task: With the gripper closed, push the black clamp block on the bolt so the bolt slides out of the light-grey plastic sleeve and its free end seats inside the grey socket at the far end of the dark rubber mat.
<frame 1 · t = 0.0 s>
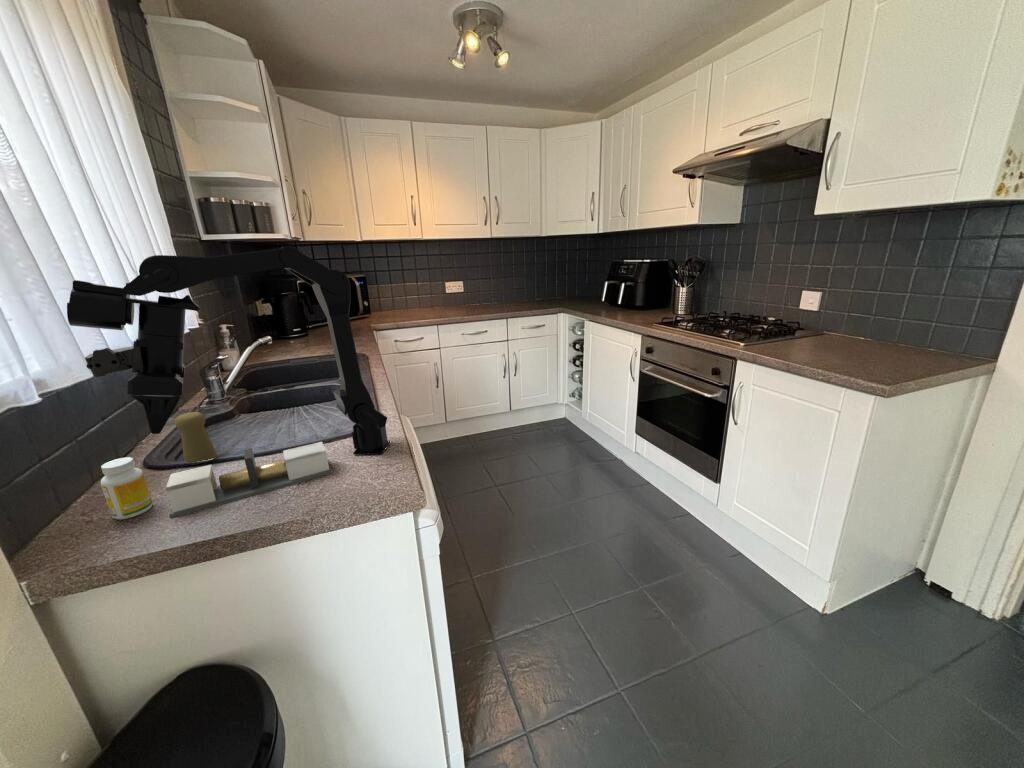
hand: (157, 425, 68), 15 cm above the countertop, tool pointing down, fingers open, 9 cm apart
supplement bottle: (134, 512, 71), on the countertop
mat: (323, 468, 84), on the countertop
sleeve: (306, 460, 82), on the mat, point 3 cm above the countertop
cork: (201, 460, 91), on the countertop
bolt: (271, 463, 78), point 4 cm above the countertop, slide at 0.0 cm
socket: (193, 487, 72), on the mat, point 3 cm above the countertop
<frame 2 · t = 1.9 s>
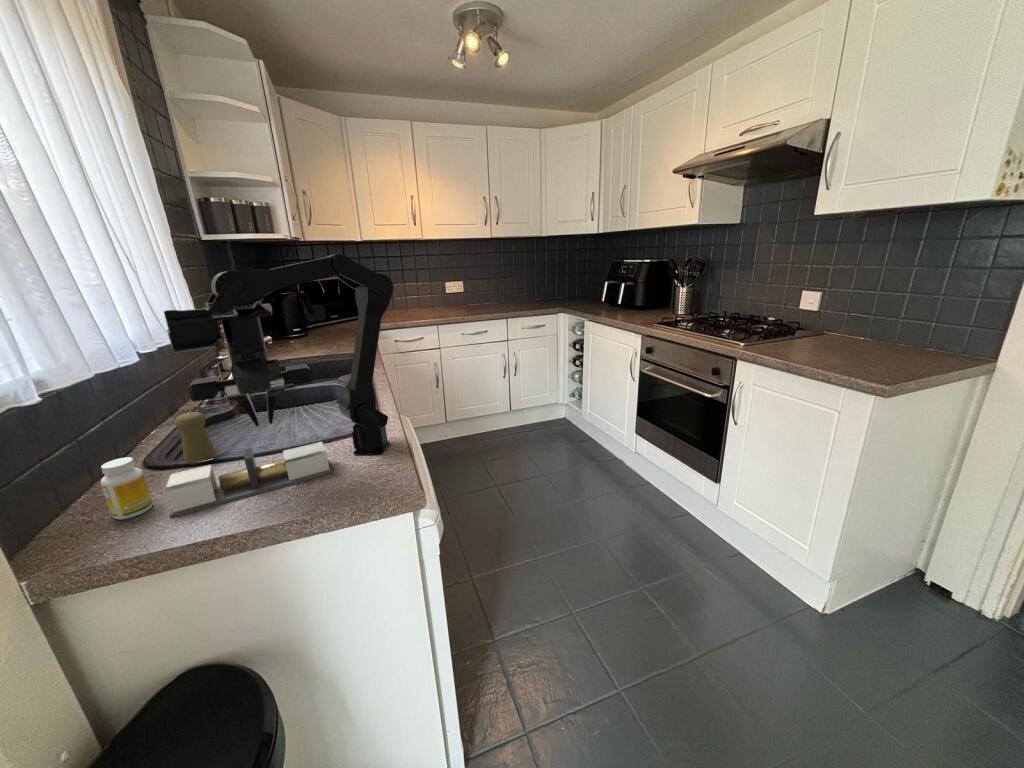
hand: (264, 424, 76), 12 cm above the countertop, tool pointing down, fingers closed
nothing on the countertop moved.
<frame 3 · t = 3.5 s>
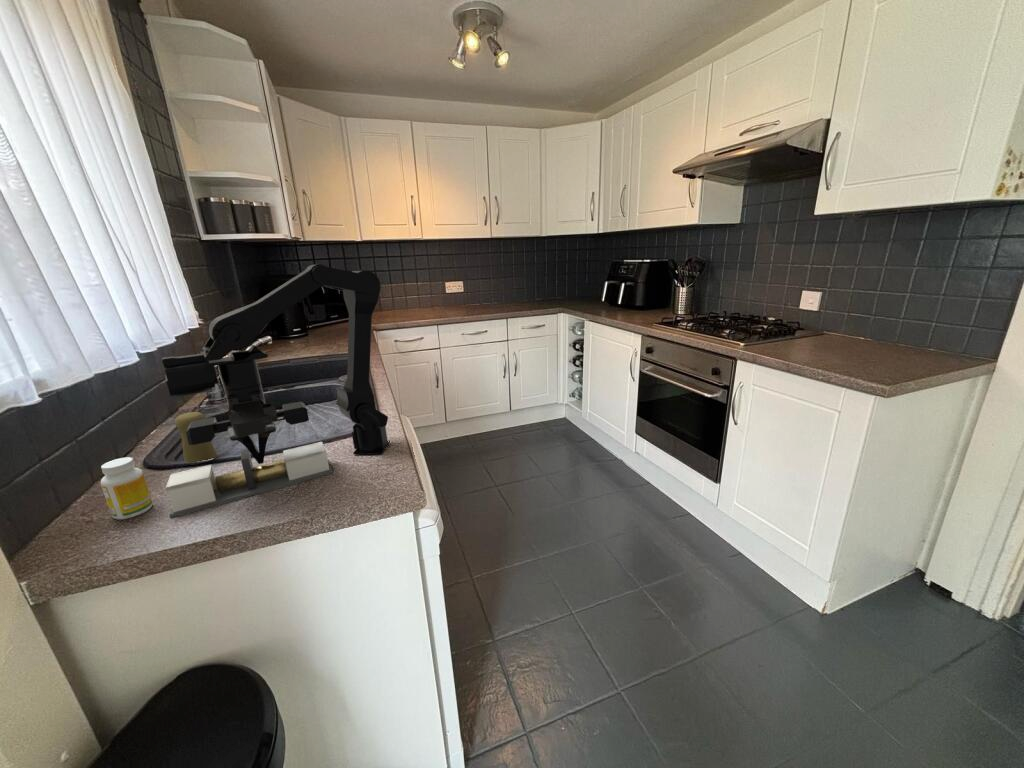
hand: (261, 462, 77), 5 cm above the countertop, tool pointing down, fingers closed
bolt: (268, 463, 78), point 4 cm above the countertop, slide at 0.6 cm, touching gripper
everything else where it was.
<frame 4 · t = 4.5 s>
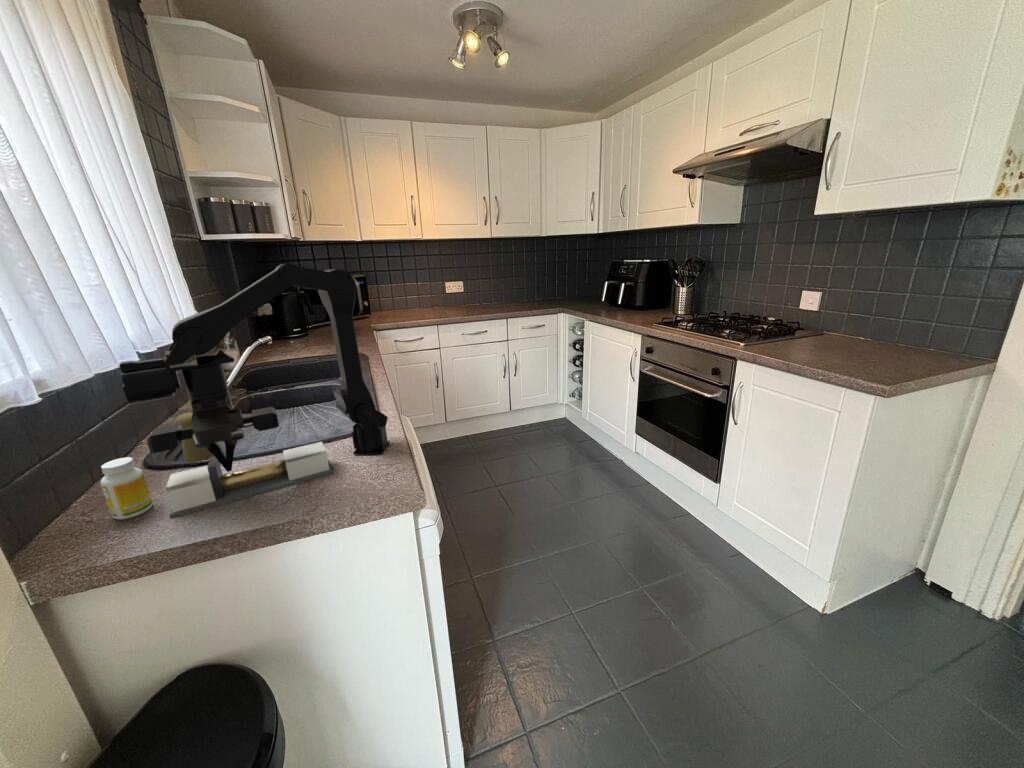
hand: (229, 470, 75), 5 cm above the countertop, tool pointing down, fingers closed
bolt: (237, 471, 76), point 4 cm above the countertop, slide at 5.5 cm, touching gripper
everything else where it was.
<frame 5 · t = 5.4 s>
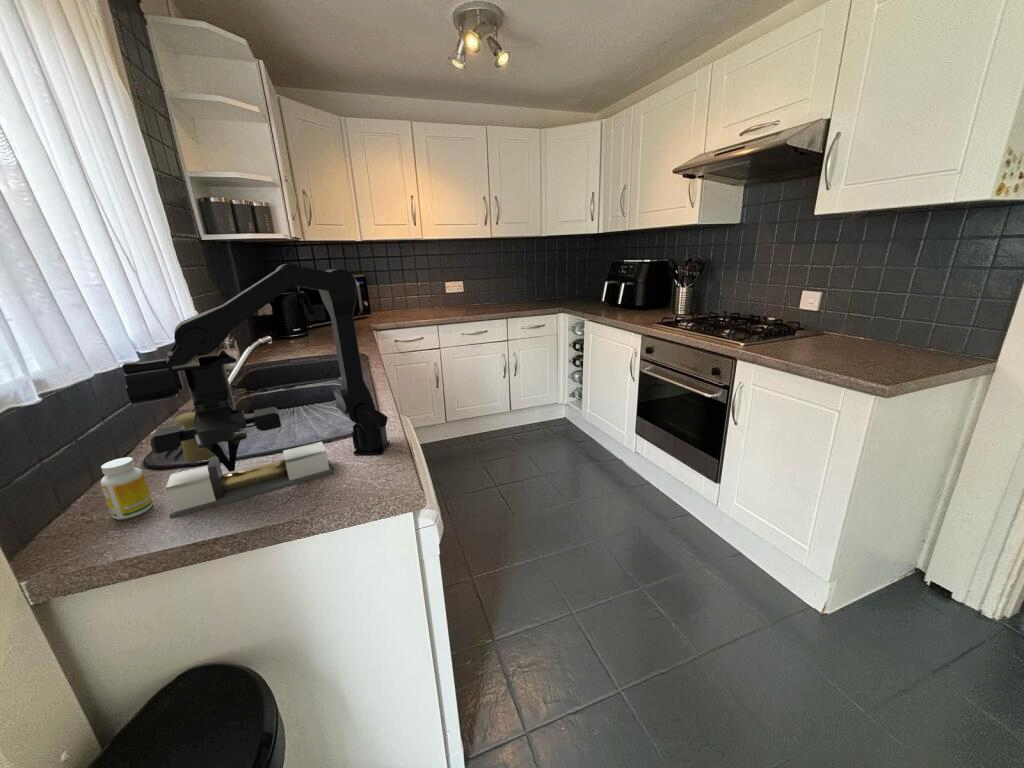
hand: (232, 470, 75), 4 cm above the countertop, tool pointing down, fingers closed
bolt: (238, 471, 76), point 4 cm above the countertop, slide at 5.5 cm
everything else where it was.
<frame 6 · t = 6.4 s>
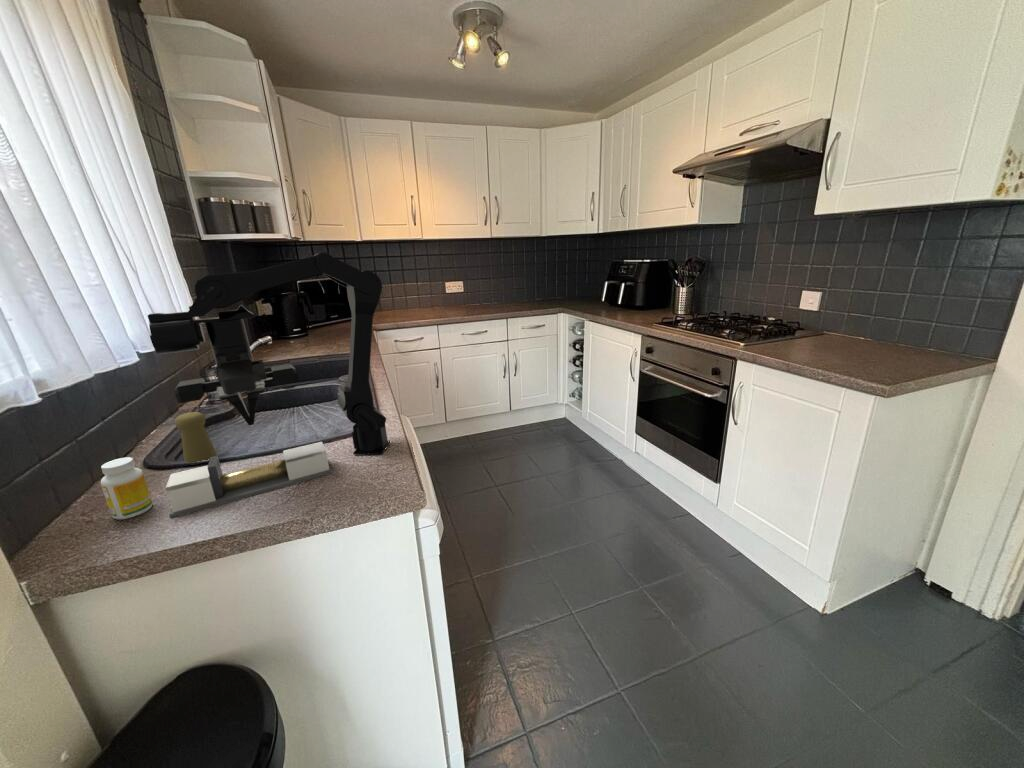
hand: (251, 424, 78), 12 cm above the countertop, tool pointing down, fingers closed
nothing on the countertop moved.
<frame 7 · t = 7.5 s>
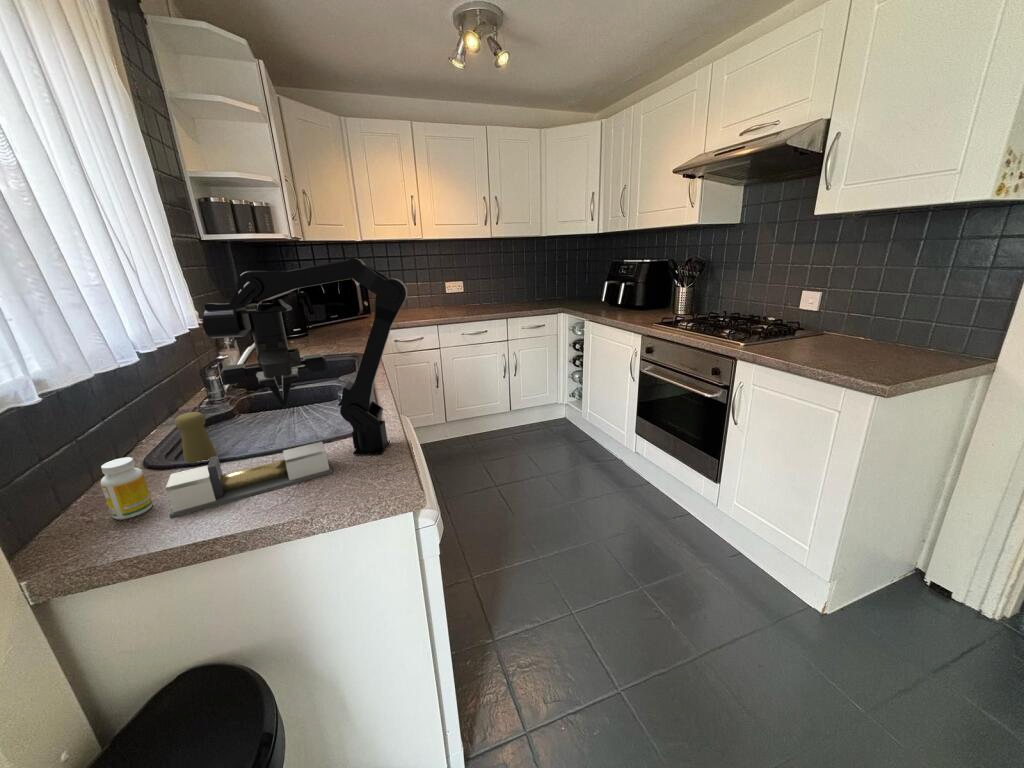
hand: (284, 407, 86), 12 cm above the countertop, tool pointing down, fingers closed
nothing on the countertop moved.
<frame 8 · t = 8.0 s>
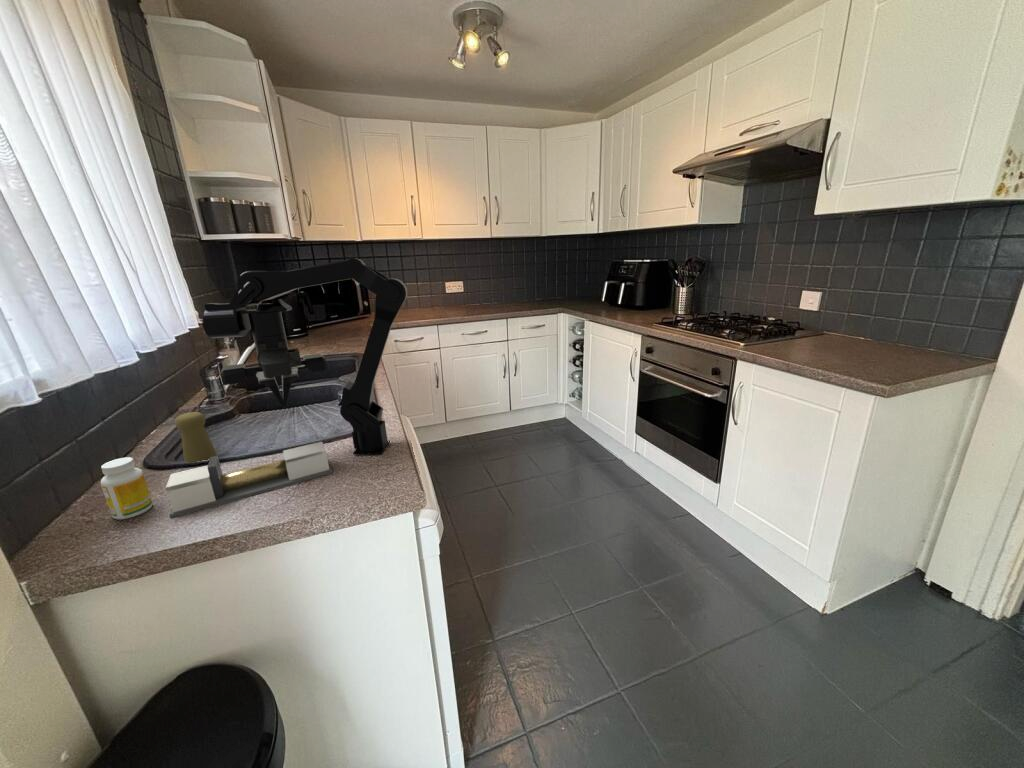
hand: (284, 407, 86), 12 cm above the countertop, tool pointing down, fingers closed
nothing on the countertop moved.
at the end: bolt slide at 5.5 cm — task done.
